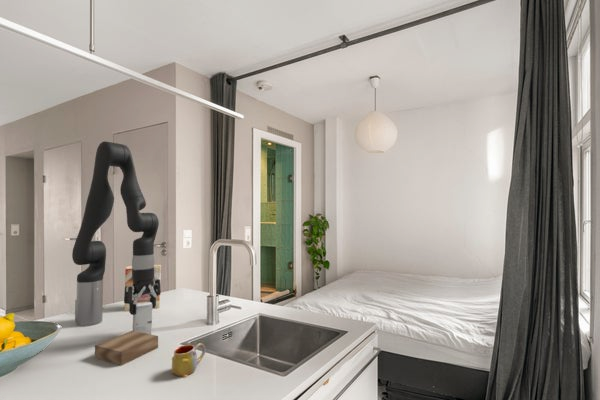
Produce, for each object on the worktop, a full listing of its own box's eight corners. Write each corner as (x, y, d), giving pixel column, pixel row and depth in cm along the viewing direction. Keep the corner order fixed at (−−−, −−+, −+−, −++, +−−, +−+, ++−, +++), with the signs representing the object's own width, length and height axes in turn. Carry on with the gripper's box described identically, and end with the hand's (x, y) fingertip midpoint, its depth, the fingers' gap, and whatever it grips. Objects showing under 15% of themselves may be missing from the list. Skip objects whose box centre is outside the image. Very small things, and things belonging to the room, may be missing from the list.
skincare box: (133, 340, 121) (134, 306, 122) (132, 336, 125) (132, 303, 125) (152, 336, 125) (152, 303, 125) (150, 333, 128) (150, 300, 129)
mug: (182, 380, 94) (183, 356, 94) (166, 373, 98) (166, 350, 98) (213, 362, 105) (214, 341, 105) (197, 357, 108) (198, 336, 108)
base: (94, 358, 107) (94, 345, 107) (132, 341, 120) (132, 330, 120) (121, 365, 102) (121, 352, 102) (157, 347, 115) (158, 335, 115)
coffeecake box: (124, 311, 154) (124, 268, 155) (126, 307, 161) (126, 265, 161) (159, 308, 160) (160, 266, 160) (160, 304, 166) (160, 264, 167)
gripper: (151, 263, 133) (151, 304, 133) (119, 269, 120) (118, 315, 120) (165, 264, 130) (165, 307, 130) (134, 270, 117) (134, 318, 117)
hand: (143, 311), depth 125 cm, fingers open, 8 cm apart
